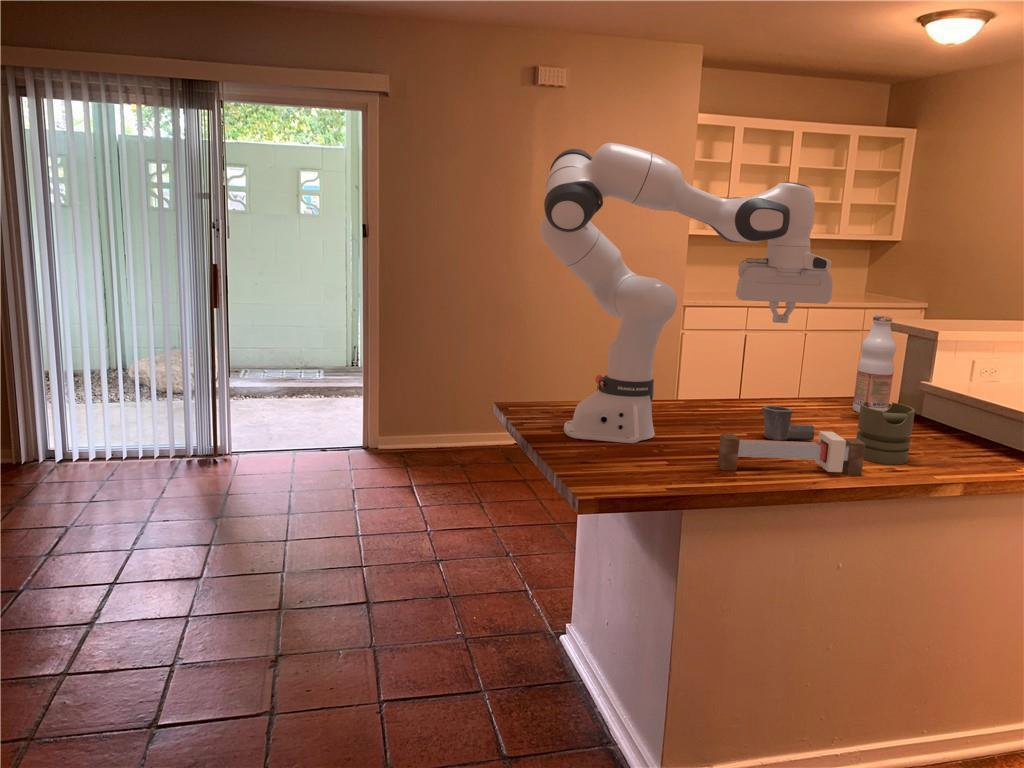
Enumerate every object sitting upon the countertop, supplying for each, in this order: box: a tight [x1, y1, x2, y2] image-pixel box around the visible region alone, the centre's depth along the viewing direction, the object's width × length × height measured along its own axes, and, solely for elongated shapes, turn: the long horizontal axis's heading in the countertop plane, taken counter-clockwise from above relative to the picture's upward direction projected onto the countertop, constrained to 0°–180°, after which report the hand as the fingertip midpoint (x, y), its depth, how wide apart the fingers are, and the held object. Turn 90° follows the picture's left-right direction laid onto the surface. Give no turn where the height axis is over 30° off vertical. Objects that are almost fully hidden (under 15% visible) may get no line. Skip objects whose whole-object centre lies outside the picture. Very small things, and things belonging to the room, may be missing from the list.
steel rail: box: [738, 439, 850, 461], centre depth 168 cm, size 28×3×3 cm, turn 90°
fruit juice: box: [852, 315, 897, 414], centre depth 223 cm, size 9×9×28 cm
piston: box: [855, 401, 916, 465], centre depth 179 cm, size 11×12×11 cm
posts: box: [717, 433, 866, 476], centre depth 168 cm, size 30×4×7 cm, turn 90°
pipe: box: [761, 405, 815, 441], centre depth 192 cm, size 6×13×8 cm, turn 78°
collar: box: [814, 430, 846, 473], centre depth 168 cm, size 3×7×7 cm, turn 0°
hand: (780, 322), depth 172 cm, fingers closed
